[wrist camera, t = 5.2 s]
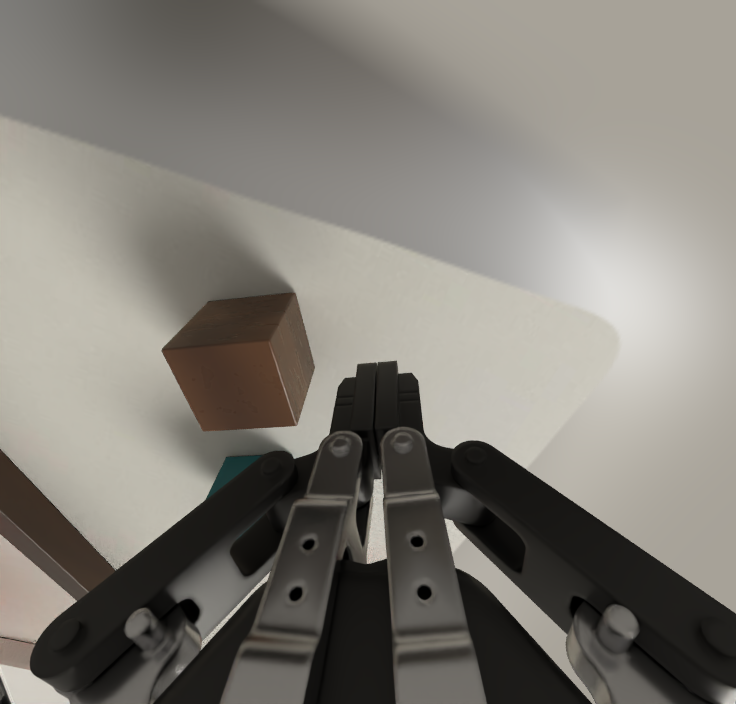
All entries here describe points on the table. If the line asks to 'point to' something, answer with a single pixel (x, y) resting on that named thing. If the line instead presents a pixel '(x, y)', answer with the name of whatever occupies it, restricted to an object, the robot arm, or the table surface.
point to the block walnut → (244, 363)
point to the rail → (47, 535)
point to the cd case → (23, 677)
